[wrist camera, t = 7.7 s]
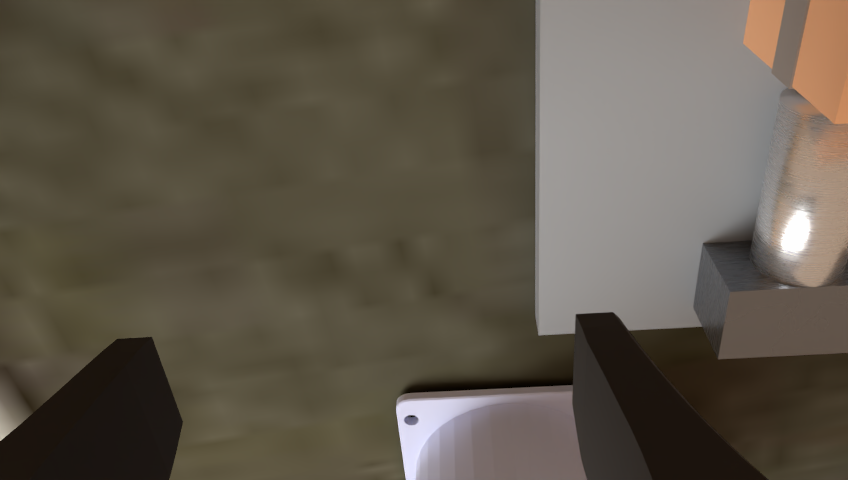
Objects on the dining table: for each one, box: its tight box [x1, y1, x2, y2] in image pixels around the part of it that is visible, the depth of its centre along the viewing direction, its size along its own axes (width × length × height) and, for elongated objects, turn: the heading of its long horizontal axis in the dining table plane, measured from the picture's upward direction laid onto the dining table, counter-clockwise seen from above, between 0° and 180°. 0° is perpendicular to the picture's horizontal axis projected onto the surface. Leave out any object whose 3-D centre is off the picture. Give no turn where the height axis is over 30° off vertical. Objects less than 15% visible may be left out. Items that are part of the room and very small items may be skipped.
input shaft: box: [693, 88, 848, 359], centre depth 20 cm, size 7×4×3 cm, turn 5°
